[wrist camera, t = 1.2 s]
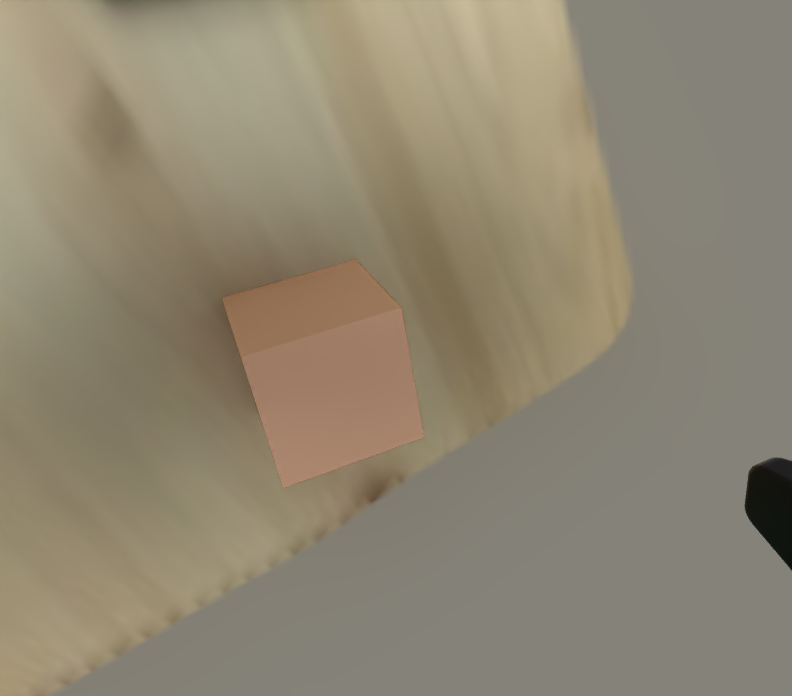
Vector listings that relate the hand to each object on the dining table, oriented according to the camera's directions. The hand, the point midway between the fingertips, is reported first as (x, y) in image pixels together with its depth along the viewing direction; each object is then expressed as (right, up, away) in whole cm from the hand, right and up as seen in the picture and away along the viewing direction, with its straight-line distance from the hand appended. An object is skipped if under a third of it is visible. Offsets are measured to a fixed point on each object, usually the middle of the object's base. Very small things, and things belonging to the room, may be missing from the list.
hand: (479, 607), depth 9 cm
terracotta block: (-4, +4, +11) cm, 12 cm away
